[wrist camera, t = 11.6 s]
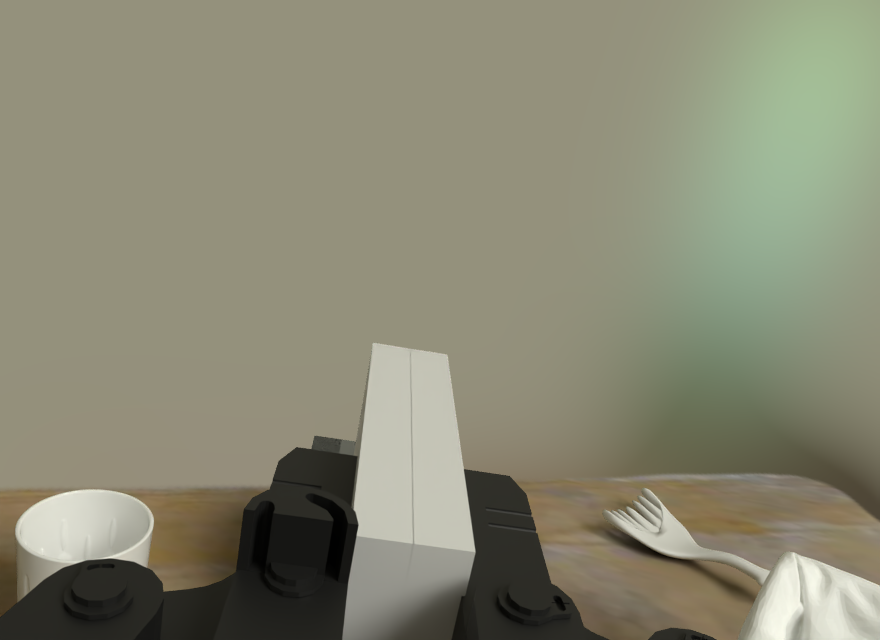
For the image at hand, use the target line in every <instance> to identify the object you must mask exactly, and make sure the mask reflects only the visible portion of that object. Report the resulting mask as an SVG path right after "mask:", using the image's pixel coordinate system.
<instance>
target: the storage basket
mask: <svg viewBox="0 0 880 640" xmlns="http://www.w3.org/2000/svg"><path fill="white" fill-rule="evenodd" d="M738 640H880V586H879V585H877V584H875V583H872V582H870V581H868V580H865V579H863V578H860V577H858V576H855V575H853V574H850V573H847V572H845V571H842V570H839V569H837V568H834V567H832V566H829V565H827V564H824V563H822V562H819V561H816V560H814V559H810V558H807V557H803V556H799V555H798V554H796V553H795V552H785V553H783V554H782V555H781V556H780V558H779V559H778V561H777V562H776V564H775V565H774V567H773V568H772V570H771V571H770V573H769V574H768V576H767V578H766V580H765V581H764V583H763V585H762V587H761V589H760V591H759V593H758V595H757V597H756V599H755V601H754V604H753V606H752V608H751V610H750V612H749V614H748V616H747V618H746V620H745V622H744V624H743V626H742V629H741V632H740V634H739V637H738Z"/></svg>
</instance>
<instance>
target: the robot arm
mask: <svg viewBox="0 0 880 640" xmlns="http://www.w3.org/2000/svg"><path fill="white" fill-rule="evenodd" d="M531 514H532V513H531V509H530V506H529V502H528V499H527V495H526V493H525V492H524V491H523V490H522V489H521V488H520V487H519V486H518V485H517V484H516V483H515V481H514V480H513V479H512V478H511V477H510V476H506V475H499V474H492V473H486V472H479V471H472V470H465V469H464V468H463V462H462V454H461V448H460V440H459V433H458V426H457V419H456V412H455V405H454V398H453V391H452V385H451V377H450V370H449V363H448V356H447V355H446V354H440V353H434V352H428V351H421V350H415V349H409V348H403V347H397V346H390V345H384V344H378V343H373V346H372V351H371V357H370V363H369V369H368V375H367V381H366V387H365V393H364V398H363V404H362V410H361V416H360V422H359V428H358V433H357V440H356V445H355V451H354V456H353V455H347V454H340V453H333V452H326V451H319V450H312V449H305V448H298V447H296V448H295V449H294V450H292V451H291V452H290V453H288V454H287V455H286V456H285V457H283V458H282V459H281V460H280V461H279V462H278V465H277V468H276V471H275V474H274V477H273V482H272V484H271V487H270V490H267V491H265V492H263V493H261V494H259V495H257V496H255V497H253V498H252V499H251V501H250V502H249V503H248V505H247V506H246V507H245V508H244V513H243V521H242V529H241V537H240V545H239V553H238V561H237V569H236V572H235V573H234V574H232V575H231V576H229V577H227V578H226V579H224V580H222V581H220V582H217V583H214V584H211V585H208V586H205V587H199V588H193V589H187V590H177V591H166V592H163V584H162V582H161V581H160V579H159V578H158V577H157V576H156V575H155V573H154V572H153V571H152V570H150V569H148V568H146V567H144V566H142V565H140V564H138V563H136V562H133V561H126V560H120V559H113V558H108V559H95V560H86V561H83V562H79V563H76V564H73V565H70V566H66V567H63V568H62V569H60V570H58V571H57V572H55V573H54V574H52V575H50V576H49V577H47V578H46V579H44V580H43V581H42V582H41V583H39V584H38V585H37V586H36V587H35V588H34V589H32V590H31V591H30V592H29V593H28V594H27V595H26V596H24V597H23V598H22V599H21V600H20V601H19V602H18V603H16V604H15V605H14V606H13V607H12V608H11V609H9V610H8V611H7V612H6V613H5V614H4V615H3V616H1V617H0V640H609V639H606V638H604V637H602V636H600V635H597V634H595V633H593V632H591V631H590V630H588V629H586V628H585V627H584V626H583V623H582V620H581V616H580V613H579V611H578V610H577V608H576V606H575V604H574V603H573V601H572V599H571V598H570V597H568V596H567V595H566V594H565V593H564V592H563V591H562V590H560V589H559V588H558V587H557V586H555V585H553V584H551V581H550V577H549V574H548V570H547V567H546V563H545V559H544V556H543V552H542V549H541V545H540V542H539V538H538V534H537V533H536V527H535V524H534V520H533V517H531ZM648 640H716V639H714V638H713V637H710V636H707V635H705V634H702V633H699V632H696V631H693V630H688V629H678V628H669V629H665V630H661V631H657V632H655V633H654V634H653V635H652V636H651V637H650V638H649V639H648Z"/></svg>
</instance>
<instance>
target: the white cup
mask: <svg viewBox="0 0 880 640" xmlns="http://www.w3.org/2000/svg"><path fill="white" fill-rule="evenodd" d="M153 525H154V519H153V515H152V513H151V511H150V509H149V508H148V507H147V506H146V505H145V504H144V503H143V502H141V501H140V500H138V499H136V498H134V497H132V496H129V495H127V494H124V493H120V492H115V491H109V490H97V489H90V490H77V491H70V492H65V493H61V494H57V495H54V496H51V497H49V498H46V499H44V500H42V501H40V502H38V503H36V504H34V505H33V506H31V507H30V508H29V509H27V510H26V511H25V512H24V513H23V514H22V515H21V517H20V518H19V520H18V522H17V524H16V527H15V541H16V567H17V597H18V602H19V601H20V600H21V599H22V598H23V597H24V596H26V595H27V594H28V593H29V592H30V591H31V590H32V589H34V588H35V587H36V586H37V585H38V584H39V583H41V582H42V581H43V580H44V579H46V578H47V577H49V576H50V575H52V574H54V573H55V572H57V571H58V570H60V569H62V568H63V567H66V566H70V565H73V564H76V563H79V562H83V561H86V560H95V559H108V558H113V559H120V560H126V561H133V562H136V563H138V564H140V565H142V566H144V567H146V568H148V560H149V553H150V546H151V539H152V532H153Z"/></svg>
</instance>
